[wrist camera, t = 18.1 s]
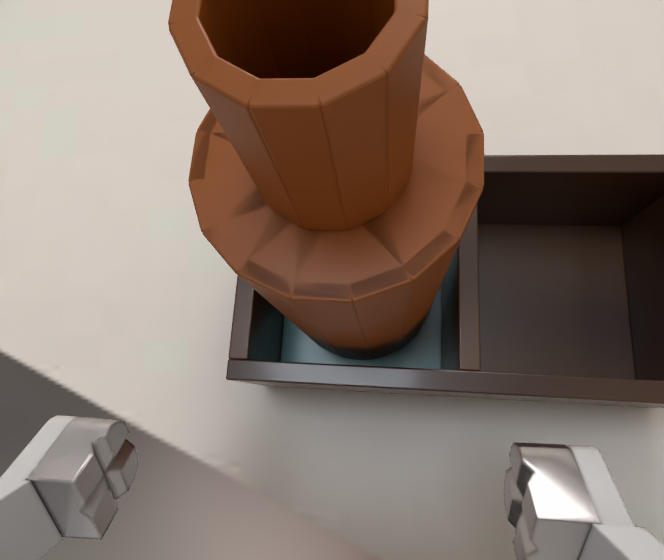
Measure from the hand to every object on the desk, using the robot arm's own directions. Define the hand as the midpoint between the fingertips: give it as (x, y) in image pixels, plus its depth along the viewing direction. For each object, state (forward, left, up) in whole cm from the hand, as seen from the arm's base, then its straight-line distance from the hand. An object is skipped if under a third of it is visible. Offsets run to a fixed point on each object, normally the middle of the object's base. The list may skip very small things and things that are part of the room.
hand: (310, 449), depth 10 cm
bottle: (+6, 0, -10) cm, 12 cm away
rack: (+6, -4, -11) cm, 13 cm away
